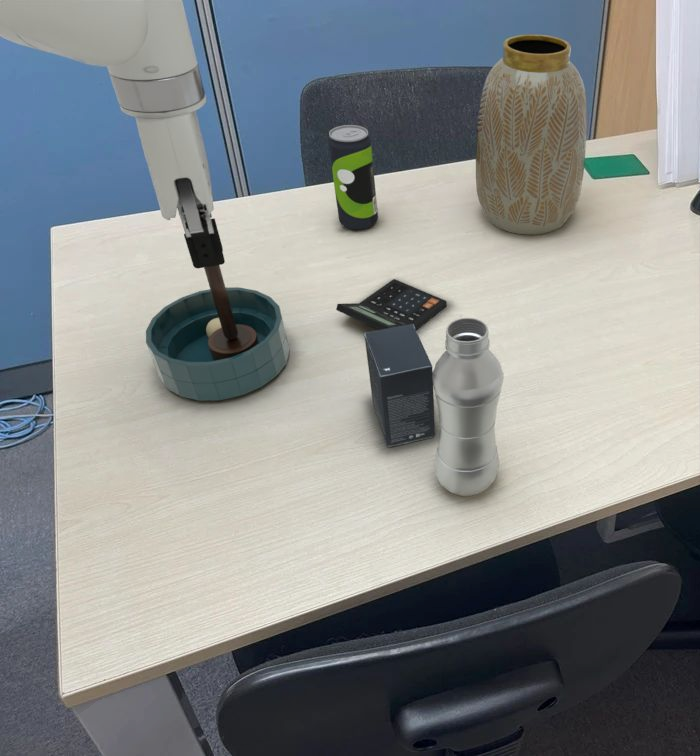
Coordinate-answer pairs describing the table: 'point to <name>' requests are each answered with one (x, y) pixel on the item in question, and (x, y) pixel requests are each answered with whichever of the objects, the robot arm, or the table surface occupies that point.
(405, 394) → the box
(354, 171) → the beverage can
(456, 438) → the plastic bottle
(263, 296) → the bowl
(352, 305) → the calculator
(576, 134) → the vase
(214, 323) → the ball
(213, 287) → the brown plunger
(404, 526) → the table surface
